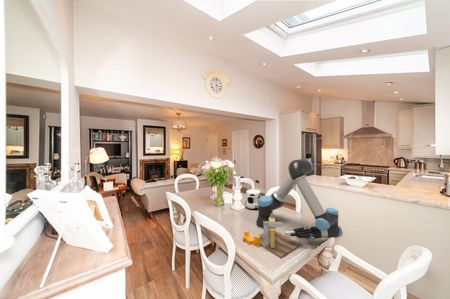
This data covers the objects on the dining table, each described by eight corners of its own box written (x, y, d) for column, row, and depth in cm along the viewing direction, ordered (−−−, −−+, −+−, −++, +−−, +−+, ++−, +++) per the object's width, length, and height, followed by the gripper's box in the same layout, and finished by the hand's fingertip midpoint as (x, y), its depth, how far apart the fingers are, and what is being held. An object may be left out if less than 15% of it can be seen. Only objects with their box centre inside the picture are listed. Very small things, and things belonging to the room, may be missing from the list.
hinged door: (268, 232, 134) (268, 212, 133) (274, 232, 133) (274, 212, 132) (268, 247, 114) (268, 224, 113) (276, 248, 113) (276, 225, 112)
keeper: (263, 248, 116) (263, 222, 115) (263, 245, 119) (263, 220, 118) (282, 249, 114) (282, 224, 113) (281, 247, 117) (281, 222, 116)
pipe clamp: (242, 241, 125) (242, 232, 124) (246, 239, 128) (246, 230, 127) (256, 248, 116) (256, 239, 116) (260, 245, 119) (260, 236, 119)
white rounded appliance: (251, 203, 200) (250, 188, 200) (264, 207, 189) (264, 190, 188) (242, 208, 187) (242, 191, 187) (256, 212, 176) (256, 194, 175)
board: (271, 230, 139) (271, 229, 139) (301, 245, 118) (301, 243, 118) (251, 240, 126) (251, 238, 126) (281, 258, 105) (281, 256, 105)
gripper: (324, 242, 114) (289, 245, 112) (312, 232, 127) (281, 234, 125) (324, 231, 114) (289, 233, 112) (312, 222, 127) (281, 224, 125)
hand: (285, 234), depth 119 cm, fingers closed
